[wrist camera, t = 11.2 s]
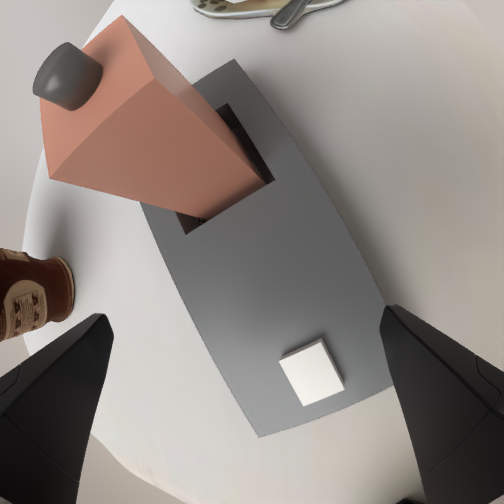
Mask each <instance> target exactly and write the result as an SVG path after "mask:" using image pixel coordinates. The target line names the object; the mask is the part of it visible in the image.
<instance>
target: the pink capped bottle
mask: <svg viewBox="0 0 504 504" xmlns="http://www.w3.org/2000/svg"><path fill="white" fill-rule="evenodd" d="M33 93H34V94H35V95H37V96H39V97H40V110H41V122H42V131H43V140H44V148H45V155H46V161H47V167H48V173H49V178H50V179H54V180H58V181H62V182H66V183H70V184H74V185H78V186H82V187H85V188H89V189H93V190H97V191H101V192H105V193H109V194H112V195H116V196H120V197H124V198H128V199H131V200H135V201H139V202H143V203H146V204H150V205H154V206H158V207H161V208H165V209H169V210H172V211H176V212H180V213H183V214H187V215H191V216H194V217H198V218H201V219H205V220H210V219H212V218H214V217H215V216H217V215H218V214H220V213H222V212H223V211H225V210H226V209H228V208H230V207H231V206H233V205H235V204H236V203H238V202H239V201H241V200H243V199H244V198H246V197H248V196H249V195H251V194H253V193H254V192H256V191H258V190H259V189H261V188H263V187H264V186H266V185H267V184H266V183H265V181H264V179H263V178H262V176H261V174H260V173H259V171H258V169H257V168H256V166H255V164H254V163H253V161H252V159H251V158H250V156H249V155H248V153H247V151H246V150H245V148H244V146H243V145H242V143H241V142H240V140H239V138H238V137H237V135H236V134H235V133H234V132H233V131H232V129H231V128H230V127H229V126H228V125H227V124H226V123H225V121H224V120H223V119H222V118H221V117H220V116H219V115H218V113H217V112H216V111H215V110H214V109H213V108H212V107H211V106H210V105H209V103H208V102H207V101H206V100H205V99H204V98H203V97H202V96H201V95H200V93H199V92H198V91H197V90H196V89H195V88H194V87H193V86H192V85H191V84H190V83H189V82H188V81H187V79H186V78H185V77H184V76H183V75H182V74H181V73H180V72H179V71H178V70H177V69H176V68H175V67H174V66H173V65H172V64H171V63H170V62H169V61H168V60H167V59H166V58H165V56H164V55H163V54H162V53H161V52H160V51H159V50H158V49H157V48H156V47H155V46H154V45H153V44H152V43H151V42H150V41H149V40H148V39H147V38H146V37H145V36H144V35H142V34H141V33H140V32H139V31H138V30H137V29H136V28H135V27H134V26H133V25H132V24H131V23H130V22H129V21H128V20H127V19H126V18H125V17H124V16H123V15H121V16H120V17H118V18H117V19H116V20H115V21H113V22H112V23H111V24H110V25H109V26H107V27H106V28H105V29H104V30H103V31H102V32H100V33H99V34H98V35H97V36H96V37H95V38H94V39H92V40H91V41H90V42H89V43H88V44H87V45H86V46H85V47H84V48H83V49H82V50H80V49H78V48H77V47H75V46H74V45H72V44H71V43H69V42H66V43H64V44H62V45H60V46H59V47H57V48H56V49H55V50H54V51H53V52H52V53H51V54H50V55H49V56H48V57H47V59H46V60H45V61H44V63H43V64H42V66H41V68H40V69H39V71H38V73H37V75H36V77H35V80H34V84H33Z"/></svg>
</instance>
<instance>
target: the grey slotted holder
mask: <svg viewBox="0 0 504 504" xmlns="http://www.w3.org/2000/svg"><path fill="white" fill-rule="evenodd" d="M192 86H193V87H194V88H195V89H196V90H197V91H198V92H199V93H200V95H201V96H202V97H203V98H204V99H205V100H206V101H207V102H208V103H209V105H210V106H211V107H212V108H213V109H214V110H215V111H216V112H217V113H218V115H219V116H220V117H221V118H222V119H223V120H224V121H225V123H226V124H227V125H228V126H229V127H230V128H233V127H235V126H236V125H238V124H240V123H241V124H242V126H243V128H244V129H245V131H246V132H247V134H248V135H249V137H250V139H251V140H252V142H253V144H254V145H255V147H256V148H257V150H258V152H259V153H260V155H261V157H262V158H263V160H264V162H265V163H266V165H267V167H268V168H269V170H270V172H271V173H272V175H273V177H274V178H275V181H273V182H271V183H270V184H268V185H266V186H264V187H263V188H261V189H259V190H258V191H256V192H254V193H253V194H251V195H249V196H248V197H246V198H244V199H243V200H241V201H239V202H238V203H236V204H235V205H233V206H231V207H230V208H228V209H226V210H225V211H223V212H222V213H220V214H218V215H217V216H215V217H214V218H212V219H210V220H209V221H207V222H206V223H204V224H202V225H200V223H199V221H198V219H197V217H194V216H191V215H187V214H183V213H180V212H176V211H172V210H169V209H165V208H161V207H158V206H154V205H150V204H146V203H143V202H140V204H141V207H142V209H143V212H144V214H145V217H146V219H147V222H148V224H149V226H150V229H151V231H152V234H153V236H154V238H155V241H156V243H157V245H158V248H159V250H160V252H161V254H162V257H163V259H164V261H165V263H166V266H167V268H168V270H169V272H170V275H171V277H172V279H173V281H174V283H175V285H176V287H177V290H178V292H179V294H180V296H181V298H182V300H183V302H184V304H185V306H186V308H187V310H188V312H189V314H190V316H191V318H192V320H193V322H194V324H195V326H196V328H197V330H198V332H199V334H200V336H201V338H202V340H203V342H204V344H205V346H206V347H207V349H208V351H209V353H210V355H211V357H212V359H213V361H214V362H215V364H216V366H217V368H218V370H219V371H220V373H221V375H222V377H223V379H224V380H225V382H226V384H227V386H228V387H229V389H230V391H231V393H232V394H233V396H234V398H235V399H236V401H237V403H238V405H239V406H240V408H241V410H242V411H243V413H244V415H245V416H246V418H247V419H248V421H249V423H250V424H251V426H252V428H253V429H254V431H255V432H256V434H257V435H258V437H259V438H260V437H263V436H267V435H270V434H273V433H277V432H280V431H283V430H286V429H290V428H293V427H296V426H299V425H302V424H304V423H307V422H310V421H313V420H316V419H318V418H321V417H324V416H326V415H329V414H331V413H334V412H336V411H339V410H341V409H344V408H346V407H348V406H351V405H353V404H355V403H358V402H360V401H362V400H364V399H366V398H369V397H371V396H373V395H375V394H377V393H379V392H381V391H383V390H385V389H387V388H389V387H391V386H393V385H394V384H393V381H392V378H391V375H390V372H389V368H388V364H387V360H386V356H385V352H384V348H383V343H382V339H381V336H380V331H379V326H380V322H381V318H382V314H383V311H384V308H385V306H387V305H386V303H385V301H384V299H383V297H382V295H381V293H380V291H379V289H378V286H377V284H376V282H375V280H374V278H373V276H372V274H371V272H370V270H369V268H368V266H367V264H366V263H365V261H364V259H363V257H362V255H361V253H360V251H359V249H358V247H357V245H356V243H355V242H354V240H353V238H352V236H351V234H350V232H349V231H348V229H347V227H346V225H345V223H344V222H343V220H342V218H341V216H340V215H339V213H338V211H337V209H336V208H335V206H334V204H333V202H332V201H331V199H330V197H329V196H328V194H327V192H326V191H325V189H324V187H323V186H322V184H321V182H320V181H319V179H318V177H317V176H316V174H315V173H314V171H313V169H312V168H311V166H310V165H309V163H308V161H307V160H306V158H305V157H304V155H303V154H302V152H301V151H300V149H299V148H298V146H297V145H296V143H295V142H294V140H293V139H292V137H291V136H290V134H289V133H288V131H287V130H286V128H285V127H284V125H283V124H282V122H281V121H280V119H279V118H278V117H277V115H276V114H275V112H274V111H273V110H272V108H271V107H270V105H269V104H268V103H267V101H266V100H265V98H264V97H263V96H262V94H261V93H260V92H259V90H258V89H257V88H256V86H255V85H254V84H253V82H252V81H251V80H250V78H249V77H248V76H247V74H246V73H245V72H244V71H243V69H242V68H241V67H240V65H239V64H238V63H237V62H236V60H235V59H233V60H231V61H229V62H228V63H226V64H224V65H223V66H221V67H219V68H218V69H216V70H214V71H213V72H211V73H210V74H208V75H207V76H205V77H203V78H202V79H200V80H199V81H197V82H196V83H194V84H193V85H192Z"/></svg>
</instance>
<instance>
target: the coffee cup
mask: <svg viewBox="0 0 504 504" xmlns="http://www.w3.org/2000/svg"><path fill="white" fill-rule="evenodd" d="M73 299H74V284H73V280H72V273H71V270H70V268H69V267H68V266H67V264H66V262H65V261H64V260H62V258H61V257H52V258H50V259H47V260H39V259H35V258H33V257H30V256H28V254H27V253H26V252H17V251H12V250H8V249H3V248H0V342H1V341H3V340H6V339H9V338H12V337H17V336H19V335H22V334H24V333H26V332H30V331H33V330H36V329H39V328H41V327H43V326H44V325H45V324H46V323H48V322H50V321H53V322H61V321H64V320H65V319H66V318H67V317H68V316H69V315H70V313H71V310H72V306H73Z"/></svg>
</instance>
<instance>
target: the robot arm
mask: <svg viewBox="0 0 504 504" xmlns="http://www.w3.org/2000/svg"><path fill="white" fill-rule="evenodd" d="M379 331H380V336H381V339H382V343H383V348H384V352H385V356H386V360H387V364H388V368H389V372H390V375H391V378H392V381H393V384H394V387H395V390H396V393H397V396H398V399H399V402H400V405H401V408H402V411H403V414H404V418H405V421H406V424H407V428H408V431H409V434H410V438H411V441H412V445H413V449H414V452H415V456H416V460H417V464H418V468H419V472H420V476H421V478H422V479H421V481H422V485H423V489H424V494H425V499H426V503H427V504H504V372H503V371H501V370H500V369H498V368H496V367H495V366H493V365H491V364H490V363H488V362H487V361H485V360H484V359H482V358H481V357H479V356H478V355H475V353H473V352H472V351H470V350H468V349H467V348H465V347H464V346H462V345H461V344H459V343H458V342H456V341H455V340H453V339H452V338H450V337H448V336H447V335H445V334H444V333H442V332H441V331H439V330H437V329H436V328H434V327H433V326H431V325H430V324H428V323H426V322H425V321H423V320H422V319H420V318H418V317H417V316H415V315H414V314H412V313H410V312H409V311H407V310H406V309H404V308H402V307H401V306H399V305H397V304H394V305H387V306H385V308H384V311H383V314H382V318H381V322H380V326H379ZM113 340H114V334H113V331H112V328H111V326H110V323H109V320H108V318H107V316H106V315H105V314H101V313H94V314H92V315H91V316H89V317H88V318H86V319H85V320H83V321H82V322H80V323H79V324H77V325H76V326H74V327H73V328H71V329H70V330H68V331H67V332H65V333H64V334H62V335H61V336H60V337H58V338H57V339H55V340H54V341H52V342H51V343H49V344H48V345H46V346H45V347H43V348H42V349H41V350H39V351H38V352H36V353H35V354H33V355H32V356H31V357H29V358H28V359H26V360H25V361H23V362H22V363H21V365H18V366H16V367H15V368H14V369H12V370H11V371H9V372H8V373H6V374H5V375H4V376H2V377H0V504H76V500H77V493H78V488H79V481H80V476H81V471H82V466H83V462H84V457H85V452H86V448H87V444H88V440H89V435H90V431H91V427H92V424H93V420H94V416H95V412H96V409H97V405H98V401H99V398H100V394H101V391H102V388H103V384H104V381H105V377H106V373H107V368H108V363H109V358H110V354H111V349H112V344H113ZM398 504H422V503H419V502H416V501H413V500H410V499H405V500H402V501H401V502H400V503H398Z"/></svg>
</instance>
